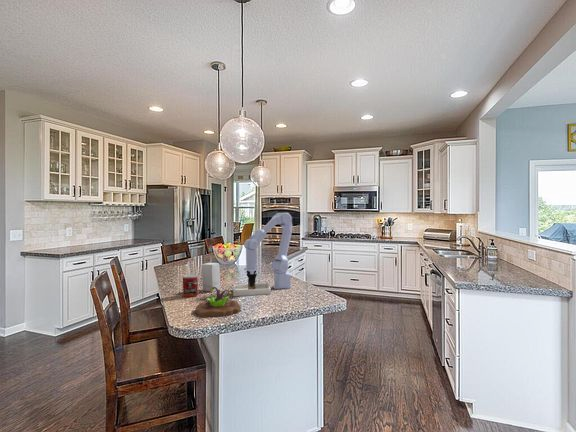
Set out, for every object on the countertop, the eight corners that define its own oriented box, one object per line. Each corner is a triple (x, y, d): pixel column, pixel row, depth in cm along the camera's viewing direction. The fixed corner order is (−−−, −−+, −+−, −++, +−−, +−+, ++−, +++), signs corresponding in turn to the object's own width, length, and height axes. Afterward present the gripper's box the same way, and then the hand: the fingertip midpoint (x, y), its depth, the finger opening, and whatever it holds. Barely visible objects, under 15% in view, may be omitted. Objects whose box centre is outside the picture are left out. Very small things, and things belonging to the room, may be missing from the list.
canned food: (182, 298, 164) (182, 277, 164) (183, 294, 172) (183, 274, 172) (197, 297, 166) (197, 276, 166) (198, 293, 174) (197, 273, 174)
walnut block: (255, 289, 177) (255, 278, 177) (255, 291, 173) (255, 280, 173) (248, 289, 177) (247, 279, 177) (248, 291, 173) (248, 280, 173)
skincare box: (220, 289, 181) (220, 263, 181) (212, 292, 175) (211, 264, 175) (210, 288, 185) (209, 262, 185) (201, 290, 180) (201, 263, 180)
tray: (268, 287, 183) (268, 283, 183) (270, 293, 170) (270, 288, 170) (234, 289, 180) (233, 285, 180) (233, 296, 167) (233, 290, 167)
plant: (195, 307, 149) (194, 283, 149) (236, 302, 155) (235, 280, 155) (196, 320, 130) (195, 293, 130) (242, 315, 136) (242, 289, 136)
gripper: (243, 258, 181) (244, 282, 182) (244, 262, 167) (244, 288, 167) (256, 258, 182) (256, 281, 183) (257, 262, 168) (258, 287, 168)
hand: (251, 284), depth 175 cm, fingers open, 7 cm apart
